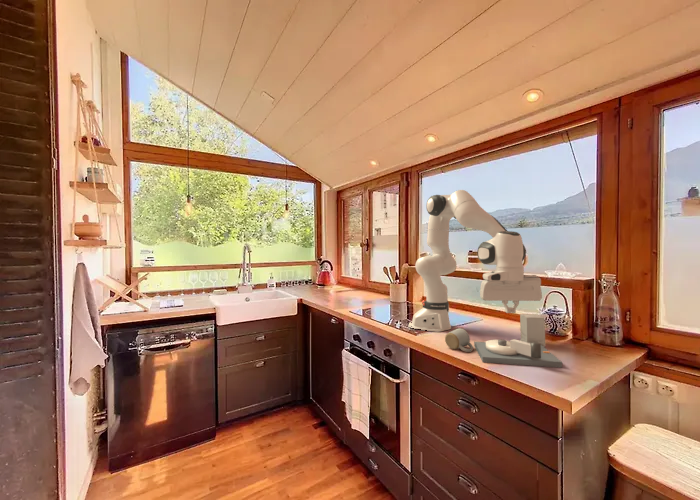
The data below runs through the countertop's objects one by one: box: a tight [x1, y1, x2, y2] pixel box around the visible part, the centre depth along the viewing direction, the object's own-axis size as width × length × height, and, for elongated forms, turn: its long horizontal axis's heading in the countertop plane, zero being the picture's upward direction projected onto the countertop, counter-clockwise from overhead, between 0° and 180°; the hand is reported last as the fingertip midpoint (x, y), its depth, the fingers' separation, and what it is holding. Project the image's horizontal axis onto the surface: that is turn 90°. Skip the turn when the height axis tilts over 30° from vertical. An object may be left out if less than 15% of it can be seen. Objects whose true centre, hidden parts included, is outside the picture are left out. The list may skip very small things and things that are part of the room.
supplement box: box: [519, 313, 546, 348], centre depth 126 cm, size 7×7×13 cm
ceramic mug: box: [444, 328, 474, 353], centre depth 123 cm, size 11×8×8 cm
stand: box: [473, 341, 563, 368], centre depth 114 cm, size 26×18×2 cm
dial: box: [485, 338, 541, 359], centre depth 111 cm, size 20×12×6 cm, turn 31°
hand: (510, 312), depth 106 cm, fingers closed
